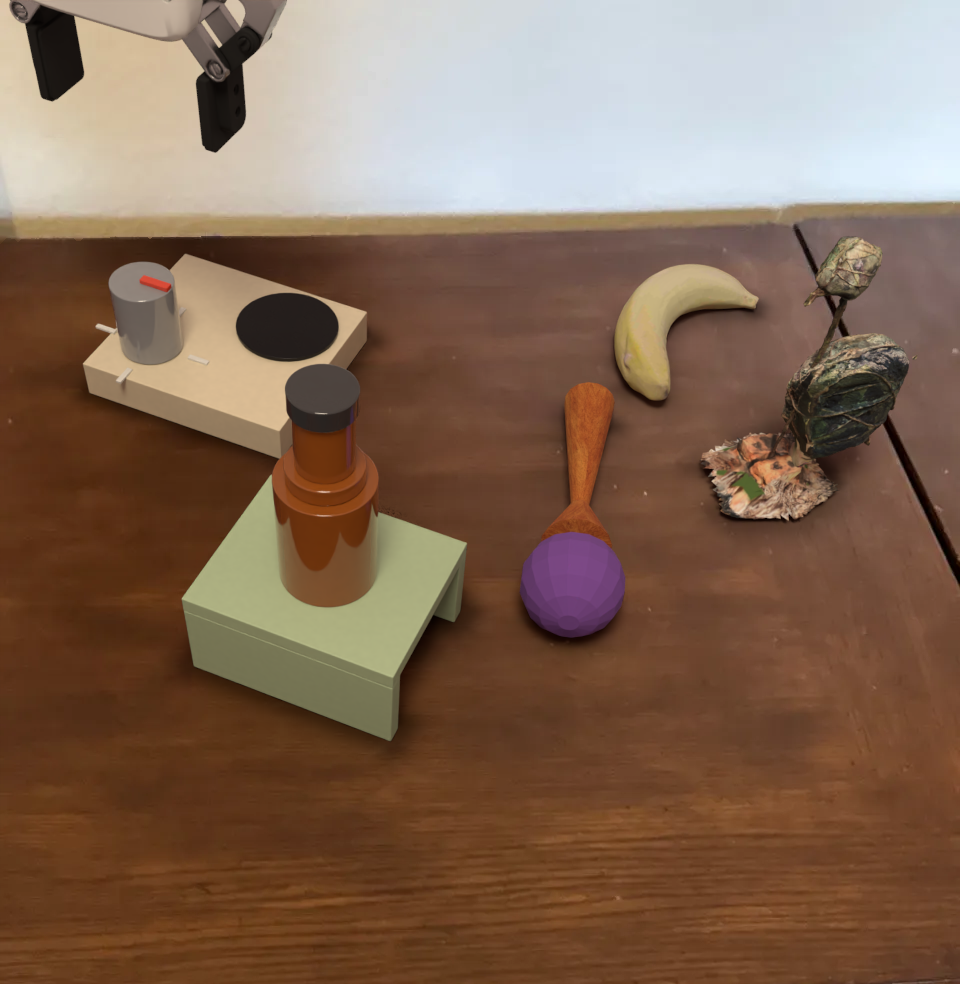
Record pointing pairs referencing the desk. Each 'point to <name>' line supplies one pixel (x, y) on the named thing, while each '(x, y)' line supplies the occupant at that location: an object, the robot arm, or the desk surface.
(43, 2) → the robot arm
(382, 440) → the desk surface
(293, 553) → the spice bottle
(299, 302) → the burner
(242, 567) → the shelf
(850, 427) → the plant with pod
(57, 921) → the desk surface
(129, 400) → the hob
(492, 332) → the desk surface
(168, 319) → the hob knob
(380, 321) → the desk surface
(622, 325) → the fruit
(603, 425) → the kendama
